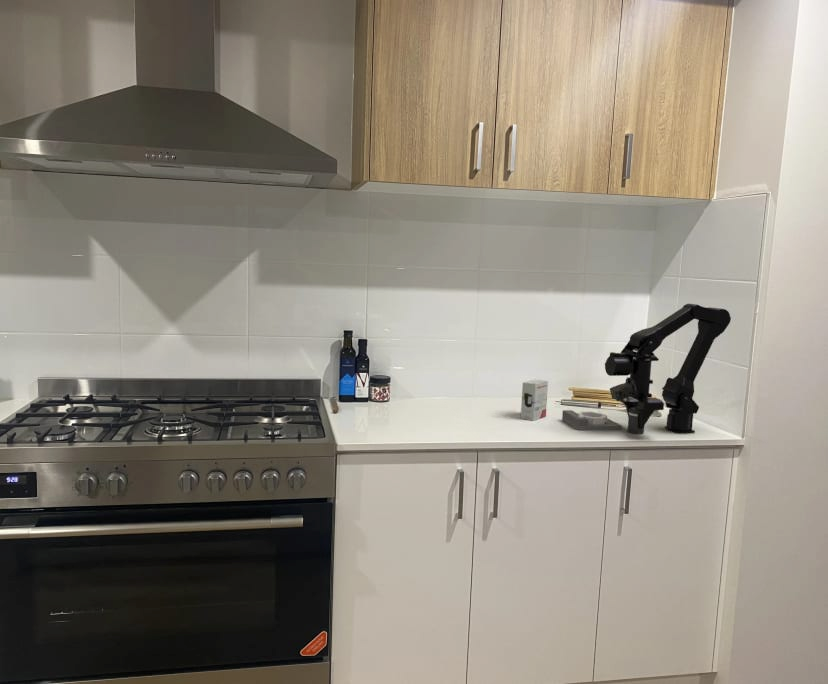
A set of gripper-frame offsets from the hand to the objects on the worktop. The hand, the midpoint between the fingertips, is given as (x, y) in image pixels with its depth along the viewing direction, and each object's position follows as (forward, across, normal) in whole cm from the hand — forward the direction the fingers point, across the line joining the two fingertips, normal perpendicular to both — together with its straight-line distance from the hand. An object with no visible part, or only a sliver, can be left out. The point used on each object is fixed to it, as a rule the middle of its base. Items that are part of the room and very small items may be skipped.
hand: (636, 427), depth 199 cm
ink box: (+2, -19, -25) cm, 31 cm away
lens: (+2, 0, 0) cm, 2 cm away
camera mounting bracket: (+2, -9, -10) cm, 14 cm away
